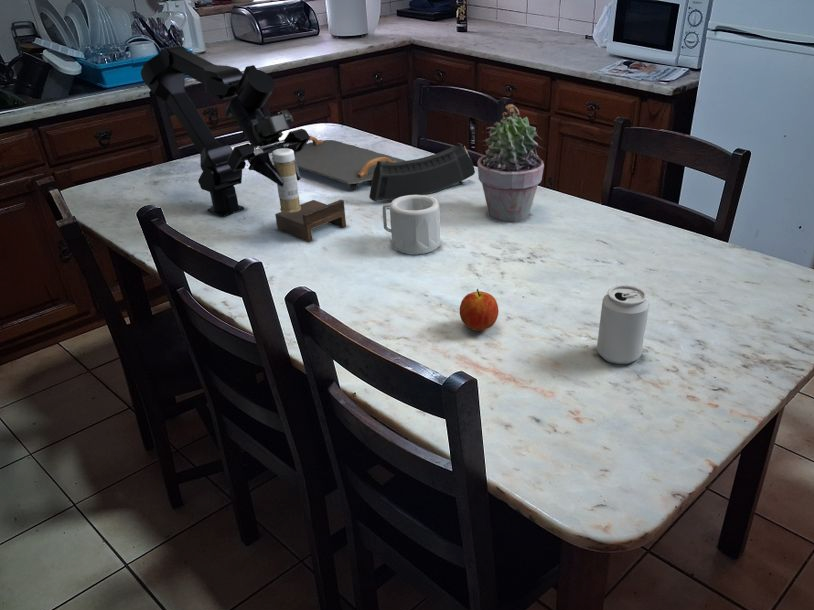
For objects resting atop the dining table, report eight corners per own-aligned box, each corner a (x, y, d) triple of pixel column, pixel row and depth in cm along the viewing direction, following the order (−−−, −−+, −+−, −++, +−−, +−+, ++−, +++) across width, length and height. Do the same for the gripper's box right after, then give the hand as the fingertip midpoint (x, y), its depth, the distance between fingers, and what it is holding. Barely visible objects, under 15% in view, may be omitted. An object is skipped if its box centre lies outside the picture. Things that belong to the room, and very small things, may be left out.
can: (591, 343, 123) (598, 282, 116) (633, 341, 123) (643, 281, 117) (602, 368, 116) (610, 305, 110) (646, 365, 117) (657, 303, 110)
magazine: (363, 173, 170) (462, 119, 178) (357, 169, 172) (455, 116, 181) (385, 231, 181) (477, 178, 190) (379, 227, 183) (470, 174, 192)
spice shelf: (277, 230, 164) (273, 203, 160) (315, 215, 171) (312, 189, 168) (308, 242, 158) (305, 215, 154) (346, 226, 165) (343, 200, 162)
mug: (448, 240, 159) (447, 198, 153) (426, 259, 151) (424, 215, 145) (396, 230, 164) (394, 188, 158) (372, 247, 155) (368, 205, 150)
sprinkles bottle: (298, 205, 159) (290, 146, 152) (303, 212, 156) (295, 152, 148) (278, 208, 158) (269, 149, 150) (282, 215, 154) (274, 155, 147)
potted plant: (494, 237, 160) (497, 127, 146) (459, 208, 175) (459, 105, 161) (562, 225, 166) (571, 118, 153) (523, 197, 181) (528, 98, 168)
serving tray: (264, 165, 202) (261, 143, 199) (326, 146, 217) (323, 126, 214) (357, 196, 182) (355, 172, 178) (417, 173, 197) (416, 151, 193)
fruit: (501, 320, 129) (502, 282, 125) (493, 340, 124) (495, 300, 119) (464, 316, 131) (464, 277, 126) (455, 335, 125) (455, 295, 120)
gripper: (225, 107, 140) (268, 174, 140) (299, 90, 152) (338, 151, 152) (210, 139, 148) (250, 201, 149) (281, 120, 160) (318, 178, 161)
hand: (291, 182), depth 152 cm, fingers closed on sprinkles bottle, 4 cm apart
